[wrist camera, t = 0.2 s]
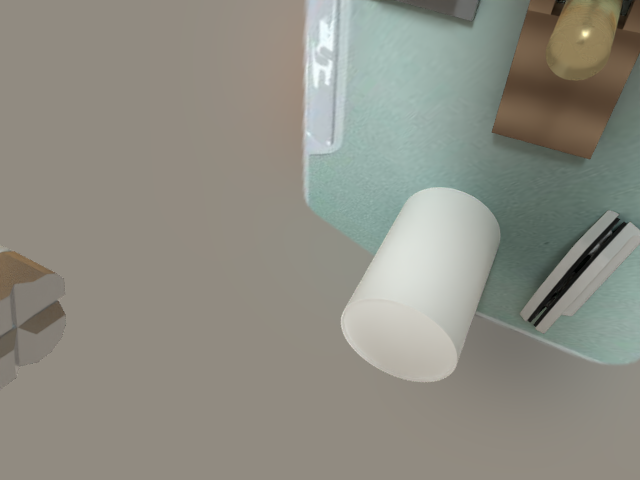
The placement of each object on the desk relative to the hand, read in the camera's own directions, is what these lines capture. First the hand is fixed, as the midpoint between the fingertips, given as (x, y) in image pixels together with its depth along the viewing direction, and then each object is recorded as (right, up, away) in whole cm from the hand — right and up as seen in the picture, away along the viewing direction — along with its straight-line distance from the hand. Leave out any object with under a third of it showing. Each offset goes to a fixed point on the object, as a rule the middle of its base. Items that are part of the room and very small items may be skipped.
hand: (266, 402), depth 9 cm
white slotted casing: (+33, 0, +59) cm, 68 cm away
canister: (+18, +4, +65) cm, 68 cm away
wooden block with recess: (+25, +22, +43) cm, 54 cm away
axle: (+25, +25, +39) cm, 53 cm away
